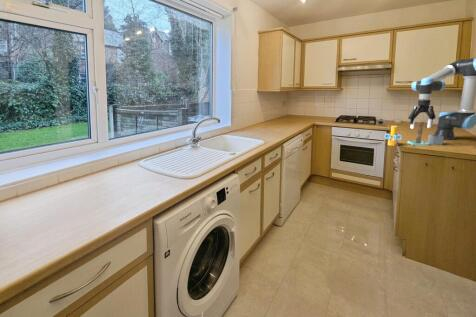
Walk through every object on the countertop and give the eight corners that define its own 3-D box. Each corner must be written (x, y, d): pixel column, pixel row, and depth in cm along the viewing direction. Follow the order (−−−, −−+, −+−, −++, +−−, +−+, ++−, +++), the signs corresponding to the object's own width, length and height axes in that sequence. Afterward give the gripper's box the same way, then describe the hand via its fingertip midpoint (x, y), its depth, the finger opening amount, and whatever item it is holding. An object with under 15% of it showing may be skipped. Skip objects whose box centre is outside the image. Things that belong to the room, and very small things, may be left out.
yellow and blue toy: (402, 147, 208) (404, 127, 204) (387, 146, 210) (389, 127, 206) (396, 143, 220) (399, 125, 216) (382, 143, 222) (384, 124, 218)
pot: (436, 144, 216) (438, 134, 214) (442, 146, 209) (443, 136, 207) (427, 144, 217) (428, 134, 215) (432, 146, 210) (433, 136, 208)
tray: (421, 144, 217) (422, 141, 216) (428, 146, 207) (429, 143, 207) (406, 144, 218) (407, 140, 218) (412, 146, 209) (413, 143, 208)
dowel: (416, 143, 215) (419, 121, 211) (420, 144, 212) (424, 122, 208) (414, 144, 213) (418, 122, 209) (419, 144, 211) (422, 122, 207)
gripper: (436, 99, 209) (432, 126, 214) (405, 99, 207) (401, 128, 212) (444, 99, 202) (439, 128, 207) (412, 100, 200) (408, 129, 205)
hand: (420, 128), depth 210 cm, fingers open, 13 cm apart
